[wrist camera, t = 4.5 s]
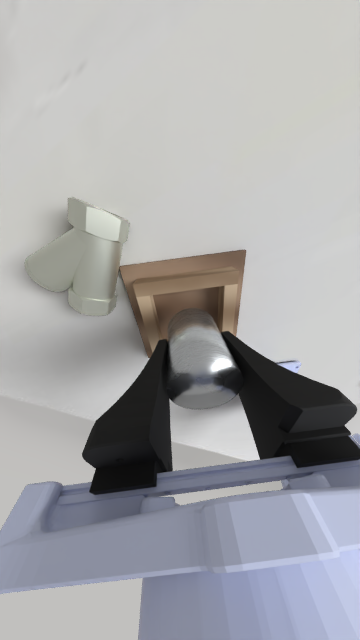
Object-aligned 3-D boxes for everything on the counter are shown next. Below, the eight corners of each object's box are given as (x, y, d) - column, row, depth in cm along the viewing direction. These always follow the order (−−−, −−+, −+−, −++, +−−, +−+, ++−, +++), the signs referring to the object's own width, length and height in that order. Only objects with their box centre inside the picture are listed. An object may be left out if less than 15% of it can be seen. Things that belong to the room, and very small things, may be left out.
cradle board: (232, 341, 21) (240, 355, 18) (149, 352, 21) (146, 368, 18) (241, 249, 14) (256, 252, 12) (121, 264, 14) (112, 271, 12)
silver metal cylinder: (212, 345, 15) (236, 405, 9) (169, 348, 14) (169, 412, 9) (216, 306, 12) (251, 358, 7) (165, 309, 12) (163, 365, 7)
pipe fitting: (52, 282, 15) (118, 303, 16) (14, 295, 11) (101, 321, 12) (47, 185, 11) (133, 222, 12) (-12, 161, 8) (115, 216, 9)
